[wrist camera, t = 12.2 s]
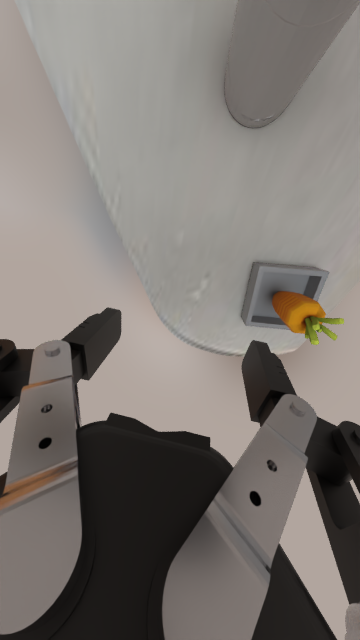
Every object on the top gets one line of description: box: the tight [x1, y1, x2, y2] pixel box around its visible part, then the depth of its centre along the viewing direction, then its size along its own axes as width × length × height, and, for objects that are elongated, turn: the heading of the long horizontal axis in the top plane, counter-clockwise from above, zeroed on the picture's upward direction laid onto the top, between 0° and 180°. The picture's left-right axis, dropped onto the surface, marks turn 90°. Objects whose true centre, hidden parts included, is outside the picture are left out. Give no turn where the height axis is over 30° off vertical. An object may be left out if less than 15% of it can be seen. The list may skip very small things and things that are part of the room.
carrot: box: [272, 291, 344, 345], centre depth 28 cm, size 5×5×15 cm
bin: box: [241, 262, 329, 330], centre depth 33 cm, size 11×11×4 cm
